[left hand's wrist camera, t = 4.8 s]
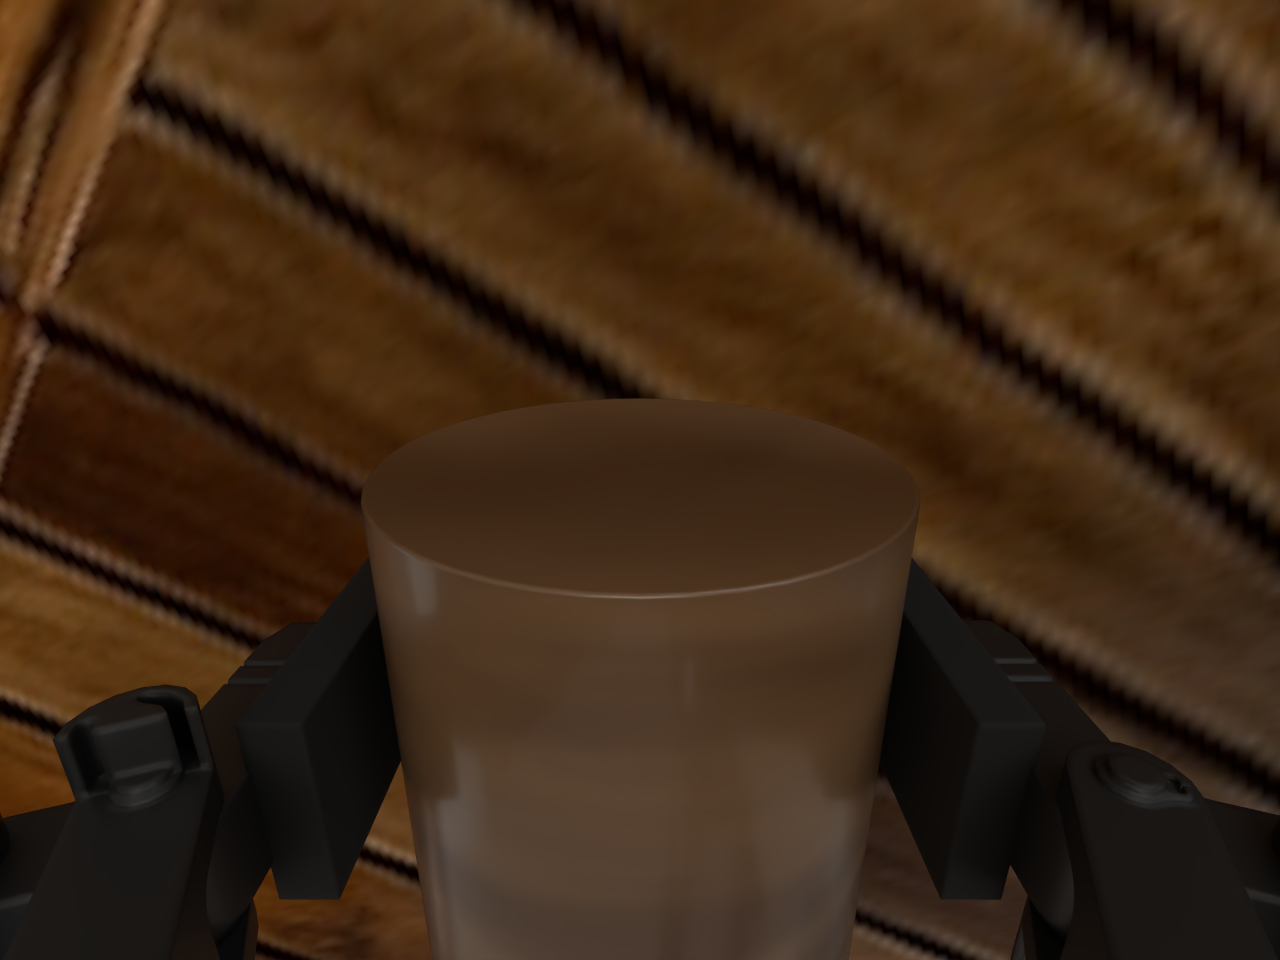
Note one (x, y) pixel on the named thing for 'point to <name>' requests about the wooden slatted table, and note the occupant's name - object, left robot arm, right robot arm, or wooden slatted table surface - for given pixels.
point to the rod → (640, 675)
